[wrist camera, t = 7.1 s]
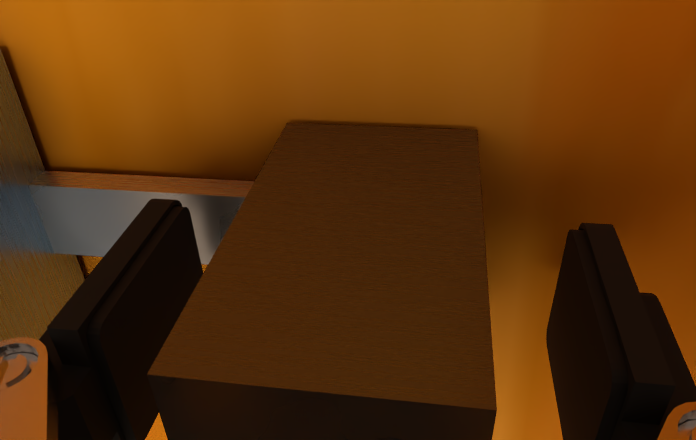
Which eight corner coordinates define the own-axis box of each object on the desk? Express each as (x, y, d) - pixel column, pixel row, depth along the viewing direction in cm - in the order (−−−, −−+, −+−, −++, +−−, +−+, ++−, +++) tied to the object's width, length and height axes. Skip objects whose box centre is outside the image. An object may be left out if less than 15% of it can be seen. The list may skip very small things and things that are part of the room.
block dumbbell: (484, 58, 11) (514, 305, 5) (454, 352, 16) (453, 658, 10) (-66, 47, 13) (-485, 229, 7) (49, 316, 17) (-152, 560, 12)
